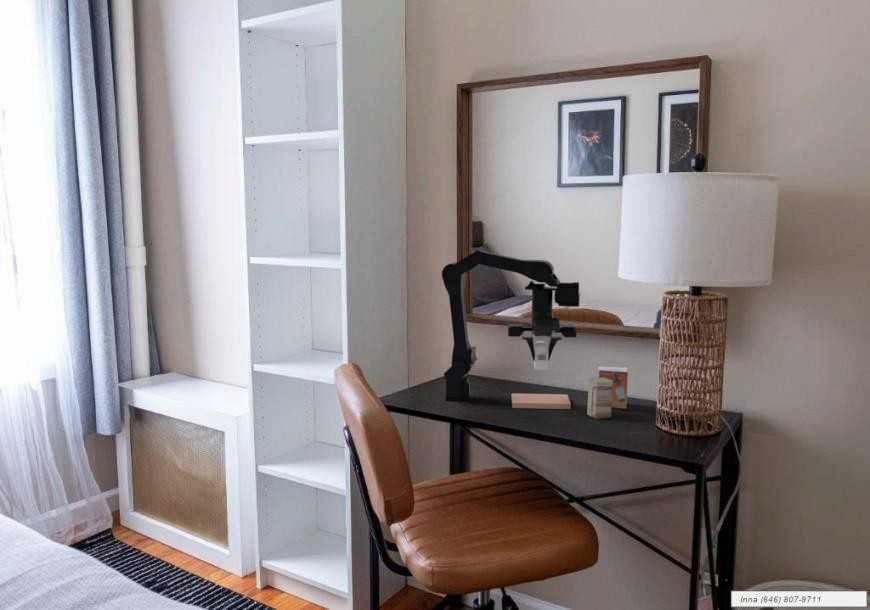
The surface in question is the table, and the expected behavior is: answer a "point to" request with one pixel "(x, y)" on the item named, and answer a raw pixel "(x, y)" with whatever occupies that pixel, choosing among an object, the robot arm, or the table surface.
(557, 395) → the terracotta tile
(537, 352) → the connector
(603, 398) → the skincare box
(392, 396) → the table surface
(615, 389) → the small box
